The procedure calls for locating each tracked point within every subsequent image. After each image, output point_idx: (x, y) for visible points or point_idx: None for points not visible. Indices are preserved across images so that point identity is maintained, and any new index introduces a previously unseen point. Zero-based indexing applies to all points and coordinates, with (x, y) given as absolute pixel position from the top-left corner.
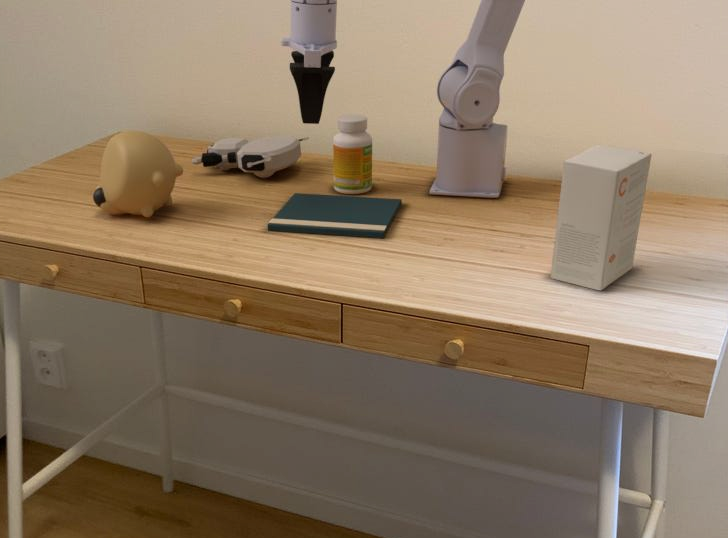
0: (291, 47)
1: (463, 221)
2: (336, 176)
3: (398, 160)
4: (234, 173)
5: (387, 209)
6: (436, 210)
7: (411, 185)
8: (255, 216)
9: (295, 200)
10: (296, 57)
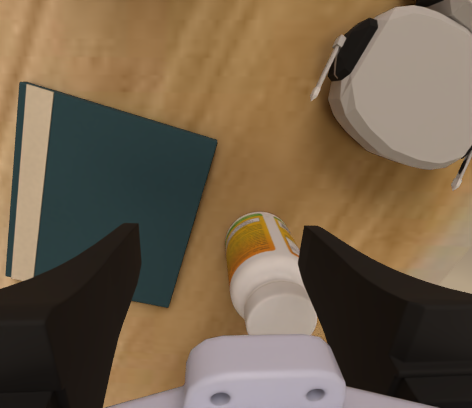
0: (155, 396)
1: None
2: (245, 226)
3: None
4: None
5: None
6: (143, 340)
7: None
8: (113, 55)
9: (170, 142)
10: (397, 317)
